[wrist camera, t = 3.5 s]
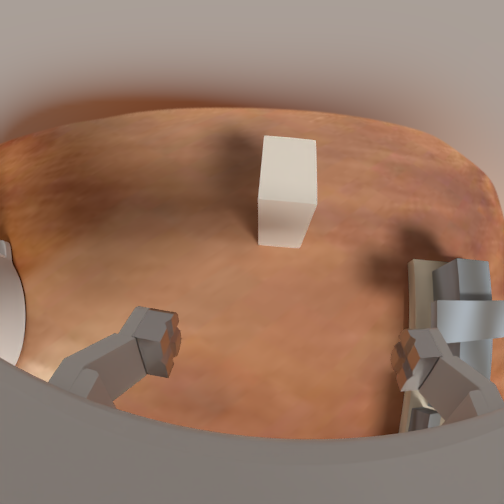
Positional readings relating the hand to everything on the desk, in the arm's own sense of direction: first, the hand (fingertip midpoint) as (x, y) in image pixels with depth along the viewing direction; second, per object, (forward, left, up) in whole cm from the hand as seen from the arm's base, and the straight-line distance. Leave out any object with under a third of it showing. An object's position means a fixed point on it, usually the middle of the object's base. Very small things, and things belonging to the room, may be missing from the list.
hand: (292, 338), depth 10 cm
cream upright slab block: (0, +10, -13) cm, 16 cm away
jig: (+16, -4, -13) cm, 21 cm away
